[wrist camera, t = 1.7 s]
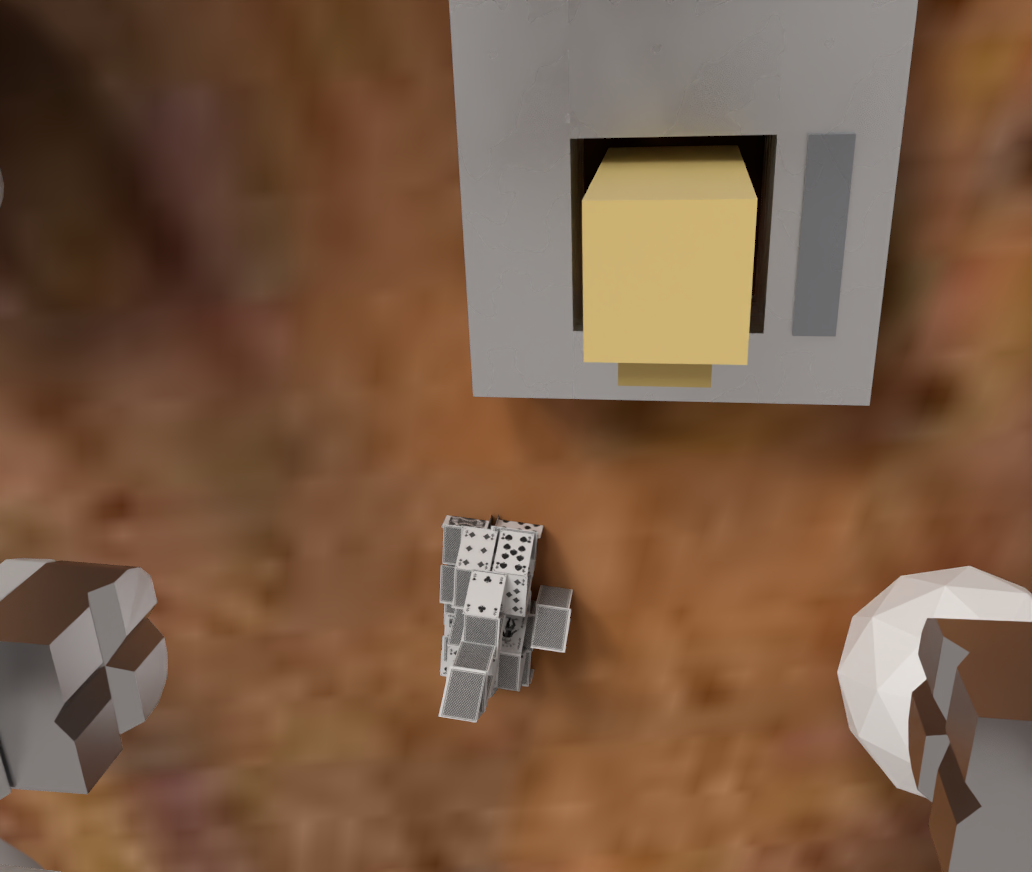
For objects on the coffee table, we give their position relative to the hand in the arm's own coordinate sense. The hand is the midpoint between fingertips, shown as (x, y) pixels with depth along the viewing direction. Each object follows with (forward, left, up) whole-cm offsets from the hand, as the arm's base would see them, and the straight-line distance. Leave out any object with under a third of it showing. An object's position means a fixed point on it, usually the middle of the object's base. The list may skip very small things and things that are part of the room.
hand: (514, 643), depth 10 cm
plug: (0, +1, -24) cm, 24 cm away
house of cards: (+16, -3, -24) cm, 29 cm away
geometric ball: (+15, +11, -24) cm, 30 cm away
